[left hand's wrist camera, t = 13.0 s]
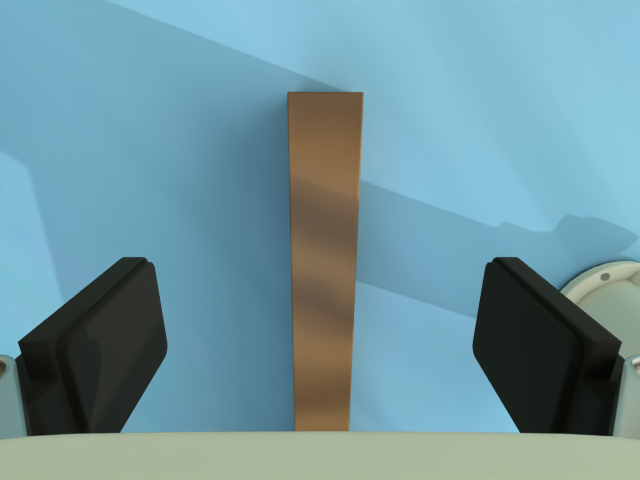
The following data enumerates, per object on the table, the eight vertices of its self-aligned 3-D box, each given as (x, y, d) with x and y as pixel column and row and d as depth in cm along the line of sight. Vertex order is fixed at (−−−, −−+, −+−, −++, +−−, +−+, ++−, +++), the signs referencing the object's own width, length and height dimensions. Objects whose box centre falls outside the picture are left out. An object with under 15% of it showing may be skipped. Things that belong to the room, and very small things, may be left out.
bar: (295, 93, 32) (287, 91, 24) (352, 93, 32) (363, 92, 24) (303, 630, 58) (300, 714, 50) (334, 630, 58) (336, 714, 51)
